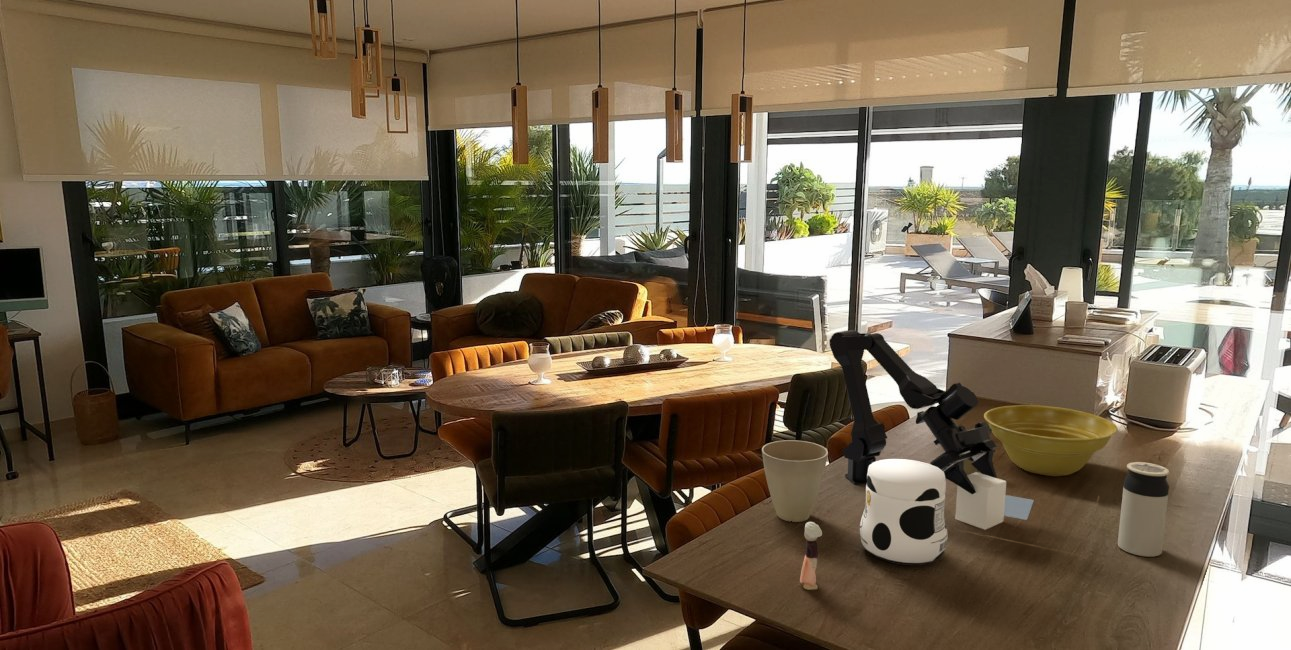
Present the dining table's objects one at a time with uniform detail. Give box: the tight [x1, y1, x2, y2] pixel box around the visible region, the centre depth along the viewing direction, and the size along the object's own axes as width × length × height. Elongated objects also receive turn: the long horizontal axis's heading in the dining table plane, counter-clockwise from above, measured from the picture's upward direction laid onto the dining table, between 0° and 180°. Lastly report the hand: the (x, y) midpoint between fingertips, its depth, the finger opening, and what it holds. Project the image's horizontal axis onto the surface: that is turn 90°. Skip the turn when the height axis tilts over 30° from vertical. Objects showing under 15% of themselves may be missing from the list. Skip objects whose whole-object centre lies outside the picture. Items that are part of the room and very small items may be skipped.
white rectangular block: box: [954, 472, 1007, 531], centre depth 185 cm, size 7×7×10 cm
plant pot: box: [761, 439, 829, 523], centre depth 188 cm, size 15×15×16 cm
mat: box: [1004, 494, 1035, 521], centre depth 195 cm, size 14×14×1 cm
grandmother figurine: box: [799, 521, 823, 591], centre depth 155 cm, size 8×4×13 cm, turn 5°
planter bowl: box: [983, 404, 1119, 477], centre depth 220 cm, size 32×32×13 cm
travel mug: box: [1117, 461, 1170, 558], centre depth 170 cm, size 8×8×18 cm
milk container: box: [859, 458, 948, 566], centre depth 169 cm, size 17×17×18 cm
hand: (985, 488), depth 184 cm, fingers open, 9 cm apart
